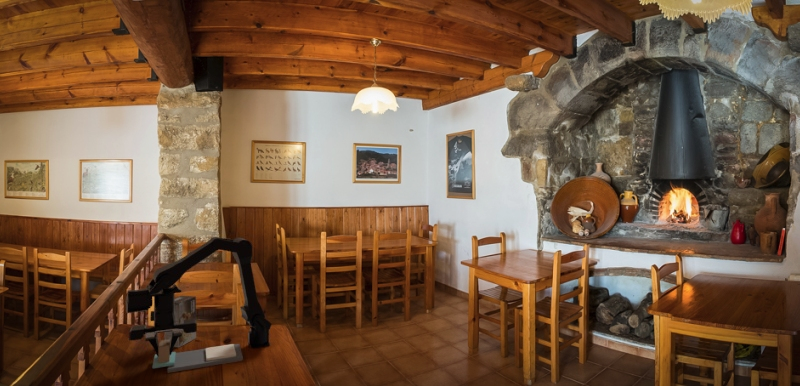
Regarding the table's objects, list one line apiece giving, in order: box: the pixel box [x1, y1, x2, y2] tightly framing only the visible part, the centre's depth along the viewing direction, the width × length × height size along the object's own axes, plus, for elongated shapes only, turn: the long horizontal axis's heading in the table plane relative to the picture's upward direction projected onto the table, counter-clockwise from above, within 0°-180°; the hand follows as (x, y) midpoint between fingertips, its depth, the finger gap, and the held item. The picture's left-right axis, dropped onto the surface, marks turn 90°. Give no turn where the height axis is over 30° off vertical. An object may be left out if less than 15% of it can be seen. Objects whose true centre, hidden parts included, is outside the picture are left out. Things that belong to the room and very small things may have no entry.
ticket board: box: [167, 343, 244, 374], centre depth 141 cm, size 22×12×2 cm, turn 116°
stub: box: [152, 339, 177, 369], centre depth 135 cm, size 6×9×6 cm, turn 26°
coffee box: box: [163, 295, 197, 348], centre depth 154 cm, size 9×6×16 cm
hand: (164, 355), depth 135 cm, fingers closed on stub, 3 cm apart
